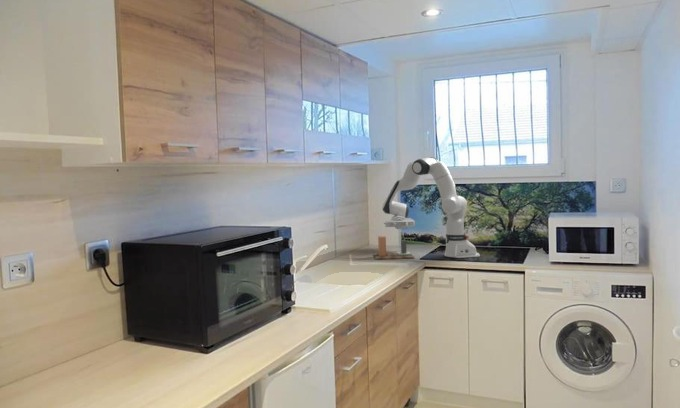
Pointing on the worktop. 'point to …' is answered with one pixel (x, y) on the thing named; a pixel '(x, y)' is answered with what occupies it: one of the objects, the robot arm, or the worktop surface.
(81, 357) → the worktop surface
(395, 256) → the board
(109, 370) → the worktop surface
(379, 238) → the block
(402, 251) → the grey upright piece
